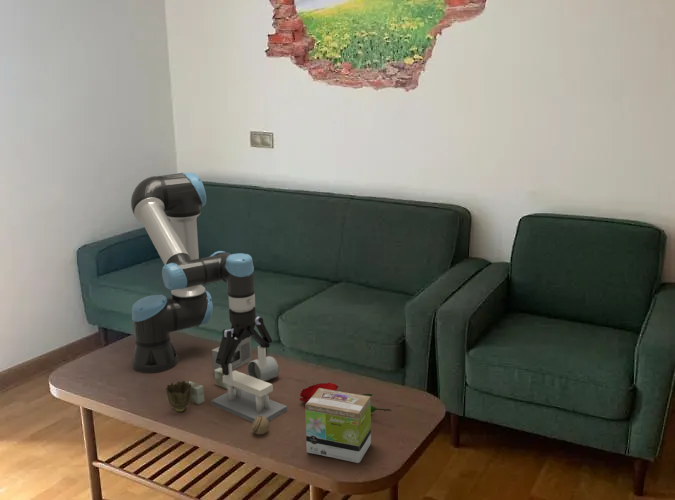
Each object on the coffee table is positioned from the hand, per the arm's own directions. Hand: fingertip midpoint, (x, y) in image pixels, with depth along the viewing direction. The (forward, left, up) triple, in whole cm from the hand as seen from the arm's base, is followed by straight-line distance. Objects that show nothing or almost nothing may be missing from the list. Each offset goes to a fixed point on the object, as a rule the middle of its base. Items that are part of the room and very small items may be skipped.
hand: (246, 375), depth 205 cm
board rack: (-17, -1, -10) cm, 20 cm away
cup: (-15, -14, -11) cm, 23 cm away
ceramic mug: (-11, +16, -11) cm, 22 cm away
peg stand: (0, 0, -10) cm, 10 cm away
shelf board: (0, 0, -3) cm, 3 cm away
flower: (+25, +15, -11) cm, 31 cm away
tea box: (+36, -2, -11) cm, 38 cm away
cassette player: (-25, +16, -11) cm, 31 cm away
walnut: (+14, -8, -11) cm, 19 cm away
